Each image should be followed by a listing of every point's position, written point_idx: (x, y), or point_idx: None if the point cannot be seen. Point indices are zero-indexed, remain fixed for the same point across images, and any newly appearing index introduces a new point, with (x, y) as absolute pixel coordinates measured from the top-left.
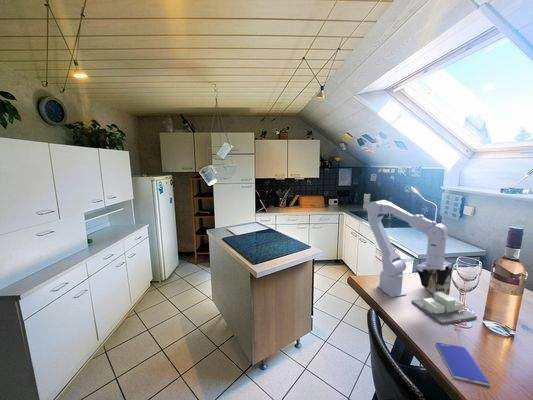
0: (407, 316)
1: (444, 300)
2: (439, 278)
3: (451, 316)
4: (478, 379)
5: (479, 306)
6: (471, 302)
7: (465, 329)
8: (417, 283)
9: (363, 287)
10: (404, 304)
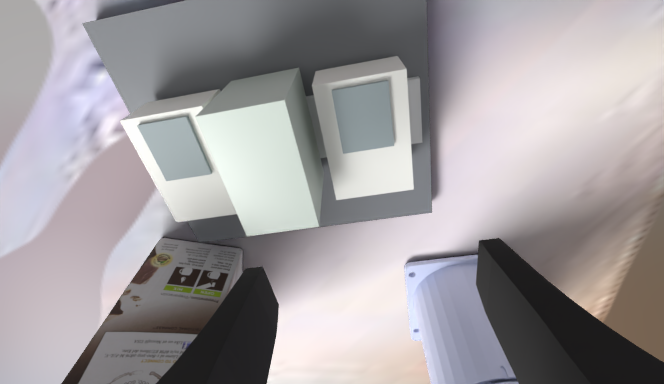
0: (597, 64)
1: (296, 128)
2: (256, 359)
3: (287, 28)
4: None
5: (13, 153)
6: (47, 191)
7: None
8: None
9: None
10: (491, 187)
